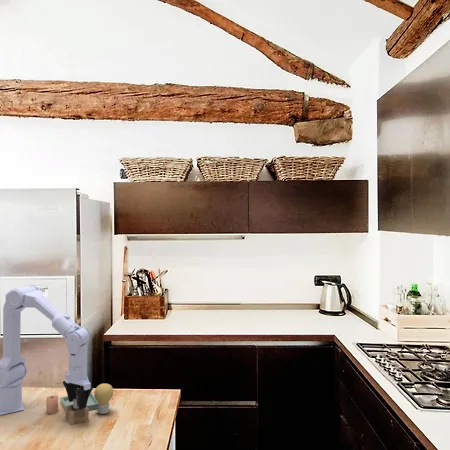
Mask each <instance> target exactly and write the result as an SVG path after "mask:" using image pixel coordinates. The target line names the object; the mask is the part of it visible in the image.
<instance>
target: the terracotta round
mask: <svg viewBox="0 0 450 450" xmlns="http://www.w3.org/2000/svg"><path fill="white" fill-rule="evenodd" d="M45 400H46V402H45V403H46V410H45V411H46V414H47V415H55V414H57V413H58V412H59V396H58V395H56V394H52V395H49V396H47V397H46V399H45Z"/></svg>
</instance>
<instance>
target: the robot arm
mask: <svg viewBox="0 0 450 450" xmlns="http://www.w3.org/2000/svg"><path fill="white" fill-rule="evenodd" d="M26 308H33V309H34V308H35V309H36V310H37V311H38V312H40V313H41V314H42V315H44V316H45V317H46V318H47V319H49V320H50V322H51V326H52V327H51V328H53V329H54V330H56V331H57V332H58V334H60V336H62V337H63V338H64V341H65V342H64V343H65V345H66V347H67V353H68V371H67V372H65V374H64V375H65V380H63V381H62V386H63V387H64V388H65V391H66V395H67V396H68V400H69V402H72V401H73V398H75V397H76V396H77V398H78V406H79V409H83V408H86V405H87V401H88V398H89V395H90V393H91V392H93V390H94V386H92V383H91V382H90V380H89V378H88V375H87V373H88V371H87V367H88V366H87V365H88V363H87V362H88V360H87V359H88V343H89V341H90V340H91V333H90V330H89V329H88V328H87V327H85V326H80V325H79V324H77V323H76V322H75V321H74V320H72V318H71V316H70V315H69V314H66V313H60V312H59V311H58V310H57V309H56V307H54V306H53V305H52V304H51V302H49V300H48V299H47V298H46V297H45V296H44V292H43V290H41V289H39V287H38V286H37V285H35V284H34V285H33V284H31V285H30V284H29V285H28V286H24V287H18V288H13V289H11V290H10V291H8V292H7V293H5V302H4V304H3V308H2V358H1V359H0V416H3V415H7V414H12V413H16V412H21V411H25V406H24V404H23V381H24V378H25V377H26V376H27V374H28V373H27V372H28V368H27V364H26V359H25V357H23V356H22V355H21V312H22V311H23V310H24V309H26ZM79 386H80V387H79Z"/></svg>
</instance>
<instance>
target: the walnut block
mask: <svg viewBox="0 0 450 450" xmlns="http://www.w3.org/2000/svg"><path fill="white" fill-rule="evenodd" d="M89 412H90V411H89V408H88V407H87V405H86V408H83V409H78V410H74V411H73V405H68V406H66V411H65V419H66V420H67V422H68V424H69V426H72V425H76V424H80V423H84V422H88V421H89V419H90V418H89V417H90V416H89V414H90V413H89Z"/></svg>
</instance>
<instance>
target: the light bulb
mask: <svg viewBox="0 0 450 450" xmlns="http://www.w3.org/2000/svg"><path fill="white" fill-rule="evenodd" d="M93 395H94V396H95V399H96V400H97V402H98V403H99V404H98V409H97V412H98V414H100V415H105V414H108V413H109V412H110V401H111V399H112V398H113V396H114V388H113V386H112V385H111V384H109V383H100V384H98V385H97V386H96V388H95V390H94V394H93Z"/></svg>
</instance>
